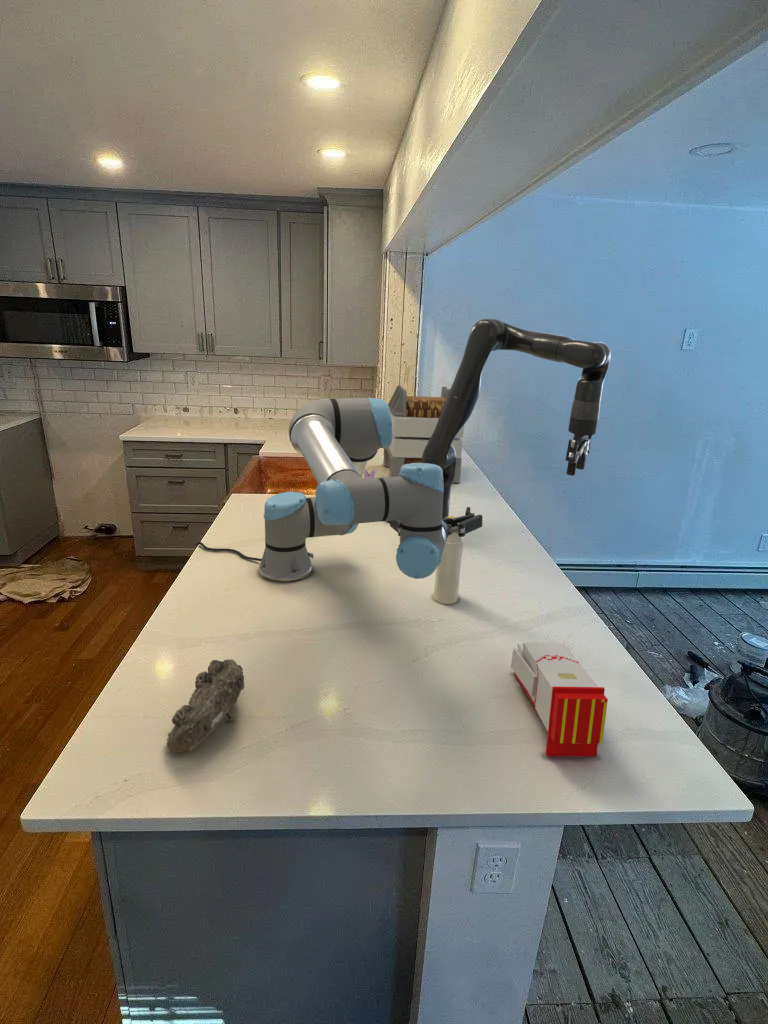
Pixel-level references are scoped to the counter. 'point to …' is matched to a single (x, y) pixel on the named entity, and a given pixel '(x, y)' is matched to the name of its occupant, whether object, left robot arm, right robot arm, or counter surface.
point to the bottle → (449, 571)
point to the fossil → (206, 705)
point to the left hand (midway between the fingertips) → (439, 512)
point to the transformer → (415, 430)
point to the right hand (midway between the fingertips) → (575, 472)
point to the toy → (562, 697)
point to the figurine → (369, 474)
